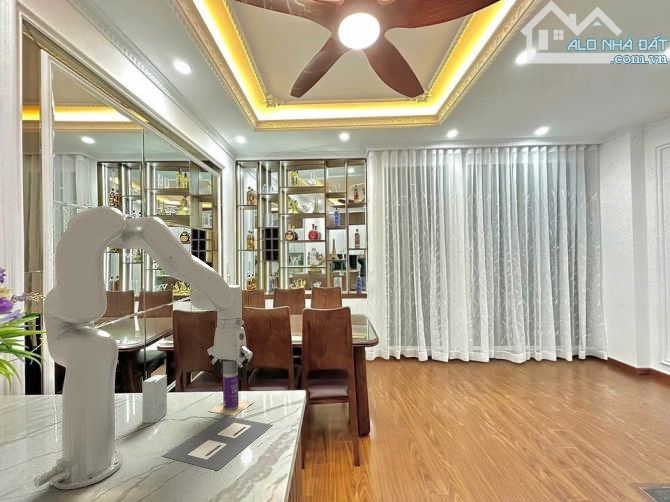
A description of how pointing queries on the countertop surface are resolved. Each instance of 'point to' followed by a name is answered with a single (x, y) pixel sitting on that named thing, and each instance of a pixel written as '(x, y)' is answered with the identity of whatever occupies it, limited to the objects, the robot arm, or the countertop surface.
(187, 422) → the countertop surface
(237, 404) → the container
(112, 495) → the countertop surface
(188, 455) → the label mat
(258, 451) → the countertop surface
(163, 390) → the skincare box
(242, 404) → the oak pad
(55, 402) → the countertop surface
